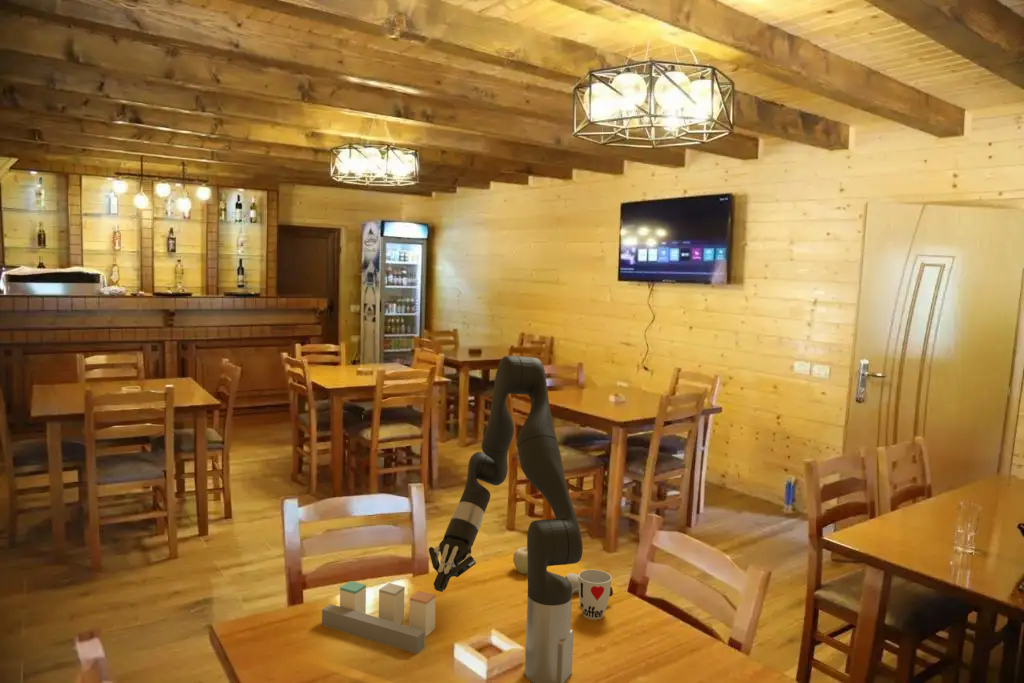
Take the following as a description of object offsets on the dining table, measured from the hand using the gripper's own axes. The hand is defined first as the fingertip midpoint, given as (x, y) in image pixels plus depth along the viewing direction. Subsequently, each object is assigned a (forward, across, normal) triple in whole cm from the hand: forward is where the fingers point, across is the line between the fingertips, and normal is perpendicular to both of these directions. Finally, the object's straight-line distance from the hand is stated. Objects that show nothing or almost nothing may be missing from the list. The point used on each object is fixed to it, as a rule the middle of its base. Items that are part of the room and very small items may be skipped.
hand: (438, 590), depth 168 cm
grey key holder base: (+11, -8, 0) cm, 14 cm away
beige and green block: (+12, -17, -2) cm, 21 cm away
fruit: (-20, +6, +32) cm, 39 cm away
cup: (-10, +32, +22) cm, 39 cm away
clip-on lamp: (-14, +24, +26) cm, 38 cm away
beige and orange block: (+10, 0, 0) cm, 10 cm away
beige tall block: (+10, -8, 0) cm, 13 cm away
